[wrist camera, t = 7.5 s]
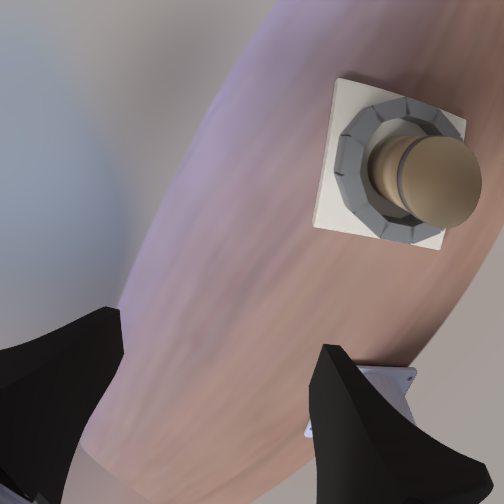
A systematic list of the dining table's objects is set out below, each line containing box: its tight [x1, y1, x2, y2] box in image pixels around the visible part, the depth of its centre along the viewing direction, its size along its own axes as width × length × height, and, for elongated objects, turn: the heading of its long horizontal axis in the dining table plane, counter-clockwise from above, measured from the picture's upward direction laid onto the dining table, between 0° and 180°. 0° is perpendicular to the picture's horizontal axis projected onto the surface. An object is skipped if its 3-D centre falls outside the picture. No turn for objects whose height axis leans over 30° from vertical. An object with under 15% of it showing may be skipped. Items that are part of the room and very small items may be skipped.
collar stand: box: [312, 78, 466, 250], centre depth 16 cm, size 9×9×3 cm
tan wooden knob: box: [367, 135, 482, 229], centre depth 14 cm, size 4×4×6 cm
